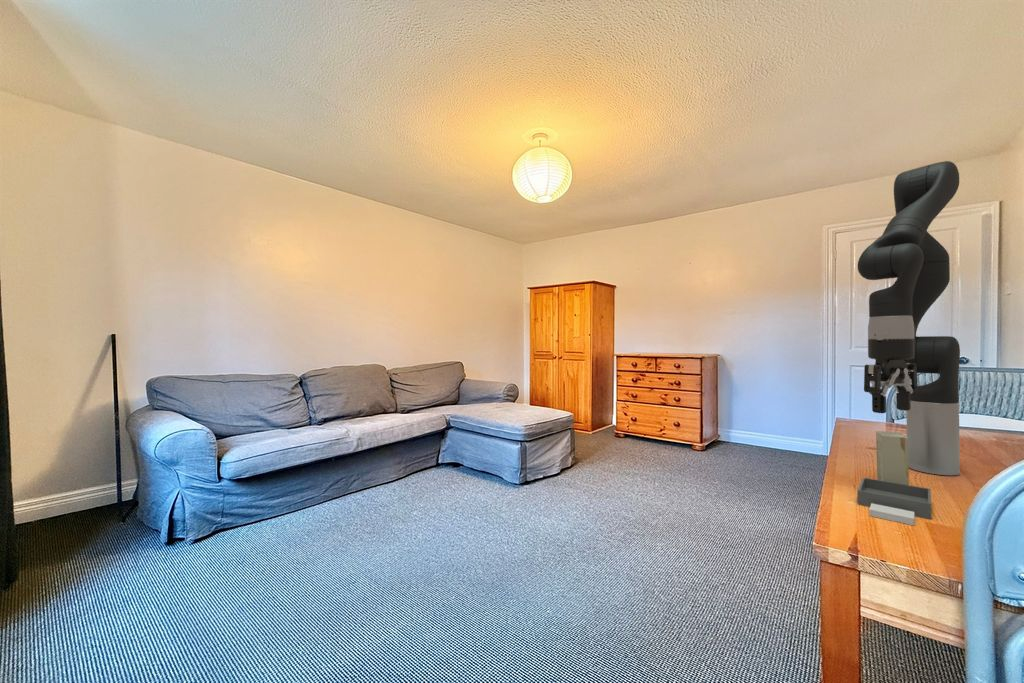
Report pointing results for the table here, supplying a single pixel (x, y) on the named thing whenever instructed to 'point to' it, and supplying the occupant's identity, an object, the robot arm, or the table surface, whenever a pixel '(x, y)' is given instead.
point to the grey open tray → (894, 500)
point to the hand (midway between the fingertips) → (891, 411)
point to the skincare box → (892, 457)
